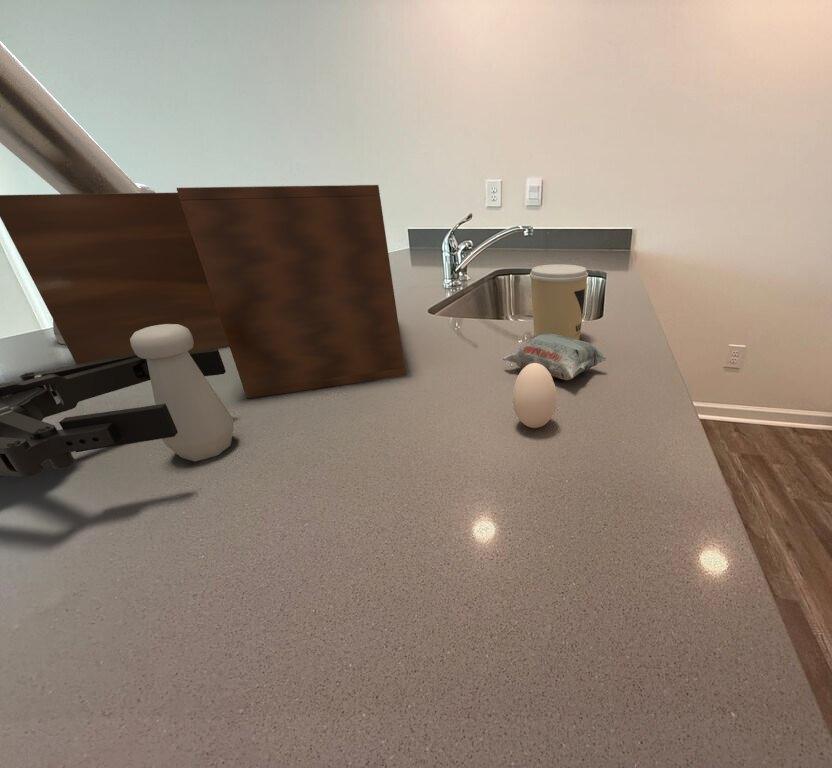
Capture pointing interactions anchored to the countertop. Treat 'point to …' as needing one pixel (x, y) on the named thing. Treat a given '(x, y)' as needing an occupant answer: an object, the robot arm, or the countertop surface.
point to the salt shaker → (184, 392)
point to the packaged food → (557, 355)
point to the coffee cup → (558, 299)
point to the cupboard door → (113, 268)
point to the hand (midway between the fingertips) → (200, 386)
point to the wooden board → (299, 283)
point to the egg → (534, 396)
